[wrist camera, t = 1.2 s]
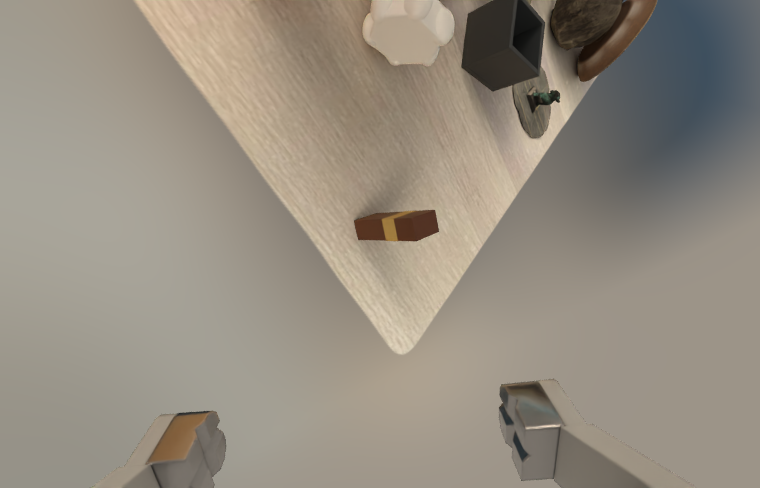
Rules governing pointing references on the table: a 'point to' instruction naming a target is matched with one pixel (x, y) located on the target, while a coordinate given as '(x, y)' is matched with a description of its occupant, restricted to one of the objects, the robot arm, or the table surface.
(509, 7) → the trash bin
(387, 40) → the dog bone
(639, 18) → the saucer
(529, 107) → the sculpture
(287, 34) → the table surface
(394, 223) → the chocolate bar
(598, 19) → the rock
